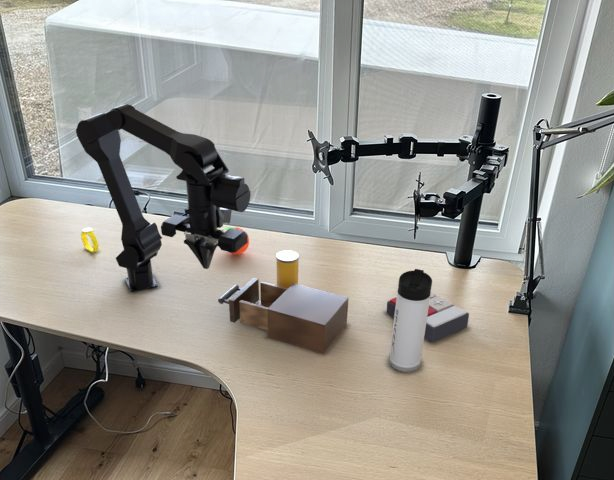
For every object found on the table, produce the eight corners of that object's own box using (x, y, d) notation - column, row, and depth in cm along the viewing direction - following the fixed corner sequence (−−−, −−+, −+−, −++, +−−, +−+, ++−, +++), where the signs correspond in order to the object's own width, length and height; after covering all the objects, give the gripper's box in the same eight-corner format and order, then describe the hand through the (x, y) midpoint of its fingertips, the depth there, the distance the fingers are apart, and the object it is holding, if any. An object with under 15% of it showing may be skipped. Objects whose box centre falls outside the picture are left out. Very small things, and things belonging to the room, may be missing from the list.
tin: (271, 294, 155) (271, 254, 149) (288, 287, 158) (288, 248, 152) (286, 303, 152) (286, 263, 146) (302, 295, 155) (303, 256, 149)
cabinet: (267, 337, 140) (267, 309, 136) (293, 310, 149) (293, 283, 145) (323, 354, 136) (325, 325, 132) (346, 325, 145) (348, 297, 141)
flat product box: (421, 284, 153) (470, 310, 142) (420, 301, 155) (468, 327, 145) (386, 298, 147) (434, 326, 137) (385, 315, 150) (432, 343, 140)
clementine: (215, 256, 170) (213, 231, 166) (225, 244, 175) (224, 220, 171) (243, 261, 168) (243, 235, 164) (253, 249, 174) (252, 224, 169)
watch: (102, 252, 170) (98, 231, 167) (93, 256, 169) (89, 235, 165) (90, 245, 174) (86, 224, 170) (80, 248, 172) (76, 227, 168)
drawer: (213, 317, 145) (212, 295, 142) (239, 294, 153) (238, 273, 150) (279, 336, 139) (279, 314, 136) (302, 311, 148) (302, 290, 144)
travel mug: (422, 357, 136) (436, 271, 124) (416, 375, 131) (429, 288, 119) (393, 350, 137) (403, 265, 126) (385, 368, 132) (395, 281, 121)
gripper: (259, 197, 140) (260, 262, 149) (186, 181, 146) (191, 244, 155) (232, 216, 131) (235, 284, 140) (155, 198, 138) (163, 264, 147)
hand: (206, 268), depth 146 cm, fingers closed
